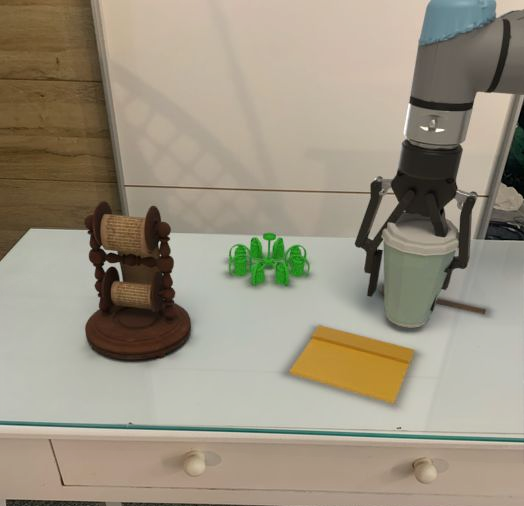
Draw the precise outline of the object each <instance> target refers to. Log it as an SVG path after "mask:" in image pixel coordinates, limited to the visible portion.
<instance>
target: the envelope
mask: <svg viewBox="0 0 524 506" xmlns="http://www.w3.org/2000/svg"><path fill="white" fill-rule="evenodd" d="M414 353H415V349H414V348H410V347H405V346H402V345H398V344H394V343H390V342H386V341H382V340H377V339H375V338H371V337H367V336H363V335H359V334H355V333H353V332H348V331H344V330H341V329H336V328H333V327H329V326H325V325H321V324H320V325H318V327H317V328H316V329H315V331H314V332H313V333H312V337H311V339H310V340H309V342H308V344H307V345H306V347H305V348H304V349H303V351H302V352H301V354H300V355H299V357H298V358H297V359H296V361H295V362H294V364H293V366H292V367H291V368H290V370H289V374H290V375H294V376H298V377H301V378H305V379H308V380H311V381H315V382H318V383H322V384H325V385H328V386H331V387H334V388H339V389H342V390H345V391H349V392H352V393H356V394H358V395H362V396H366V397H370V398H373V399H376V400H380V401H383V402H387V403H389V404H393V405H394V404H395V401H396V399H397V397H398V394H399V391H400V389H401V387H402V384H403V382H404V379H405V377H406V374H407V371H408V369H409V366H410V364H411V362H412V359H413V357H414Z"/></svg>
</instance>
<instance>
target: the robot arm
mask: <svg viewBox="0 0 524 506" xmlns="http://www.w3.org/2000/svg"><path fill="white" fill-rule="evenodd" d="M496 9H497V0H429V2H428V3H427V5H426V7H425V13H424V17H423V21H422V27H421V31H420V36H419V39H418V41H417V42H418V45H417V52H416V56H415V62H414V69H413V71H414V72H413V76H412V81H411V82H412V83H411V89H410V95H409V102H408V106H407V111H406V117H405V122H404V129H403V136H404V137H405V139H404V140H403V141H402V142H401V145H400V152H399V156H398V157H399V159H398V163H397V170H396V173H395V175H394V177H392V178H383V176H380V175H379V176H376V177H375V178H374V179H373V180H372V181H371V183H370V185H369V186H370V189H369V190H370V192H369V193H370V198H369V201H368V204H367V206H366V210H365V213H364V215H363V218H362V221H361V224H360V226H359V229H358V232H357V235H356V238H355V241H354V246H355V247H356V248H358V249H362V250H364V251H365V255H366V256H365V260H364V261H365V262H364V267H363V271H364V273H366V274H368V275H369V280H368V281H369V282H368V285H367V287H368V288H367V292H366V297H368V298H369V297H370V298H373V296H374V294H375V293H376V291H377V287H378V283H379V277H380V271H381V265H382V259H383V255H384V249H379V247H380V245H381V244H382V242H384V240H383V238H382V237H381V236H382V233H383V230H384V229H387V224H388V222H390V223H396V222H397V220H398V219H399V217H400V216H401V215H402V213H403V212H404V211H406V213H408V214H420V215H422V216H425V217H429V216H430V218H431V222H432V225H433V226H434V231H435V235H436V236H438V237H446V236H447V234H448V227H447V222H446V219H447V217H446V210H445V207H446V206H447V205H448V204H450V202H452V201H453V200H456V202H457V204H456V206H457V208H458V209H459V210H461V211H460V214H459V226H458V227H459V228H458V232H459V248H458V254H457V255H456V256H455V255H454V257H453V260H452V261H451V263H450V265H449V266H448V267H447V268H446V269H445V271H444V272H445V273H447V275H446V278H445V280H444V283H443V285H442V288H441V290H443V291H446V290H447V289H448V288H449V285H450V282H451V278H452V275H453V271H454V270H456V269H461V270H464V269H466V268H467V267H468V265H469V263H470V258H471V242H472V241H471V240H472V239H471V238H472V219H473V218H472V217H473V209H474V207H475V204H476V202H477V200H478V196H479V194H478V192H476V191H470V192H468V191H464V190H461V189H459V187H458V185H457V184H458V183H457V177H458V173H459V169H460V165H461V160H462V156H463V152H464V148H463V147H462V144H463V143H464V142H465V141H466V138H467V134H468V130H469V126H470V122H471V117H472V114H473V108H474V105H475V99H476V96H477V94H478V93H485V94H492V93H494V94H505V95H508V94H509V95H520V96H524V8H523V9H516V10H510V11H507V12H505V13H503V14H500V15H499V16H497V12H496ZM390 189H391V190H392V192H393V194H394V196H395V198H396V200H397V202H398V203H397V205H395V208H394V209H393V210H392V212H391V213H390V214H389V216H388V217H387V219H386V221H384V223H383V224H382V226H381V227H380V228H379V230H378V232H377V233H376V235H375V236H374V237H373V239H371V238H369V236H370V234H371V230H372V228H373V225H374V222H375V220H376V217H377V214H378V211H379V208H380V206H381V204H382V200H383V198H384V197H385V196H386V195H387V193H388V192H389V190H390ZM436 297H437V294H436ZM436 297H435V299H434V301H433V304H432V306H431V308H430V311H432V312H434V309H435V307H436V304H437V303H435V301H436Z"/></svg>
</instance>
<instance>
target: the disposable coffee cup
mask: <svg viewBox="0 0 524 506" xmlns="http://www.w3.org/2000/svg"><path fill="white" fill-rule="evenodd" d="M446 222H447V227H448V234H447V236H446V237H438V236H436V235H435V231H434V226H433V225H432V222H431V218H430V216H429V217H425V216H422V215H420V214H408V213H406V211H404V212H403V213H402V215H401V216H400V217H399V219H398V220H397V222H396V223H390V222H388V224H387V229H384V230H383V233H382V236H381V237H382V238H383V284H384V296H383V299H384V300H383V301H384V312H385V316H386V318H387V319H388V321H389V322H390V323H393V324H395V325H396V326H399V327H403V328H420V327H422V326H424V325H425V324H427V322H428V321H429V320H430V319H431V315H432V314H433V311H430V308H431V306H432V304H433V301H434V299H435V297H436V294H437V297H436V301H437V298H438V299H439V296H440V293H441V290H442V289H441V288H442V285H443V283H444V280H445V278H446V275H447V273H445V272H444V271H445V269H446V268H447V267H448V266H449V265H450V263H451V261H452V260H453V257H454V256H455V254H456V252H457V250H459V228H457V226H455V224H454V223H453V222H452V221H451V220H449V219H447V218H446ZM436 301H435V303H436ZM436 304H437V303H436Z"/></svg>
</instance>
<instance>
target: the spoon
mask: <svg viewBox="0 0 524 506" xmlns="http://www.w3.org/2000/svg"><path fill="white" fill-rule="evenodd" d="M380 294H381V296H383V297H384V283H383V284H382V285H381V286H380ZM436 304H437V305H441V306H445V307H446V306H447V307H450V308H455V309H459V310H464V311H466V312H467V311H468V312H472V313H477V314H481V315H486V311H487V309H486V308H481V307H477V306H473V305H468V304H465V303H460V302H455V301H452V300H451V301H450V300H446V299H443V298H439V297H438V298H437V301H436Z"/></svg>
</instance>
